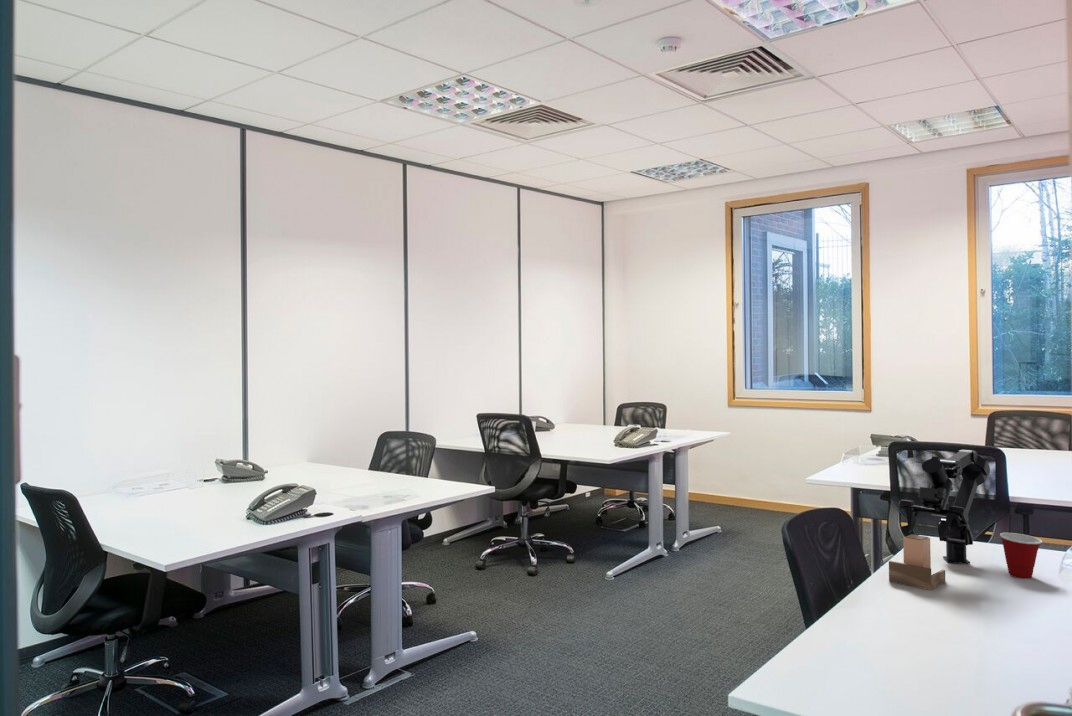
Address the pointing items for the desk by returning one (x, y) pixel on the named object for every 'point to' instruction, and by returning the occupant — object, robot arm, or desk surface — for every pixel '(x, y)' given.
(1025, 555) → the plastic cup
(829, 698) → the desk surface
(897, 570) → the brown l-shaped block
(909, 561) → the tall peach pillar
